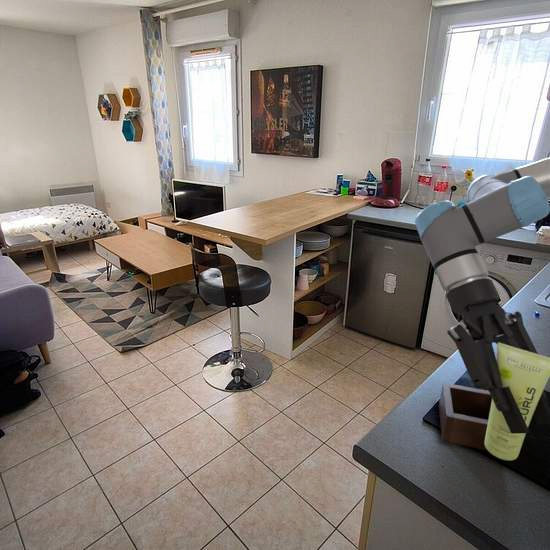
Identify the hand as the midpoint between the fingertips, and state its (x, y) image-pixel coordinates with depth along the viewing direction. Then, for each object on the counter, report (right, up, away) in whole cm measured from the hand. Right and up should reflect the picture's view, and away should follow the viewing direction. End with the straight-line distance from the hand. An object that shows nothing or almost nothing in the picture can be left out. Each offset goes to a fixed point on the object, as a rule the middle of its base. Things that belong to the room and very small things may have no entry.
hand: (533, 427), depth 54 cm
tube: (-1, -6, +7) cm, 9 cm away
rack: (-1, -7, +17) cm, 19 cm away
